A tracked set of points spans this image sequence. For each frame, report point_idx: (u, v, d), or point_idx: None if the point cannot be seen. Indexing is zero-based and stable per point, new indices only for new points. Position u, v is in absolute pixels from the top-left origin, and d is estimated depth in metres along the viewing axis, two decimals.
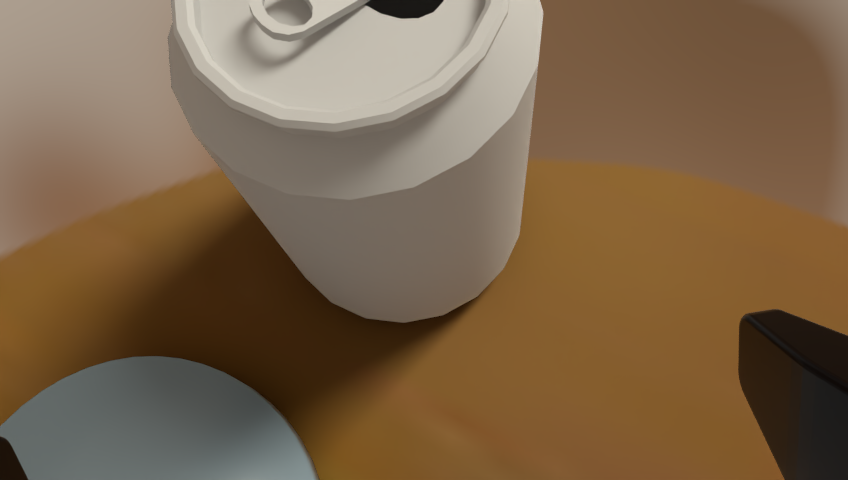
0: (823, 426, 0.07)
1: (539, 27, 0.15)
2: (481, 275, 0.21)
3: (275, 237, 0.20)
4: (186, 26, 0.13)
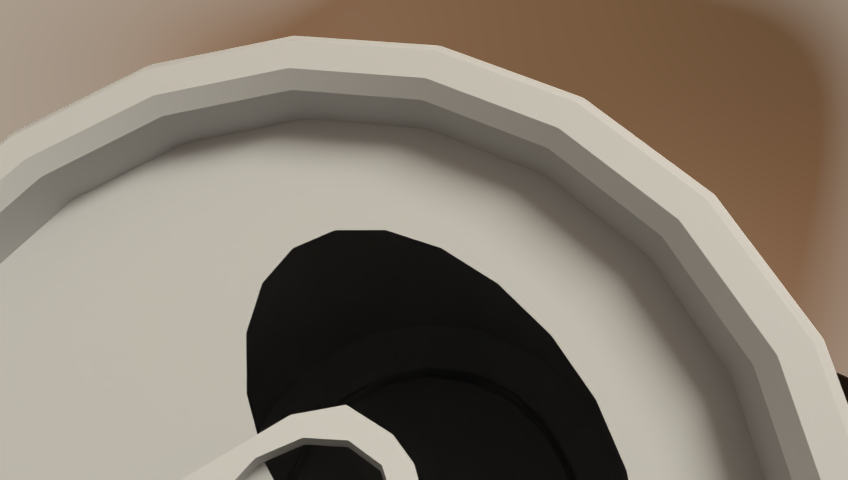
0: None
1: None
2: None
3: None
4: None
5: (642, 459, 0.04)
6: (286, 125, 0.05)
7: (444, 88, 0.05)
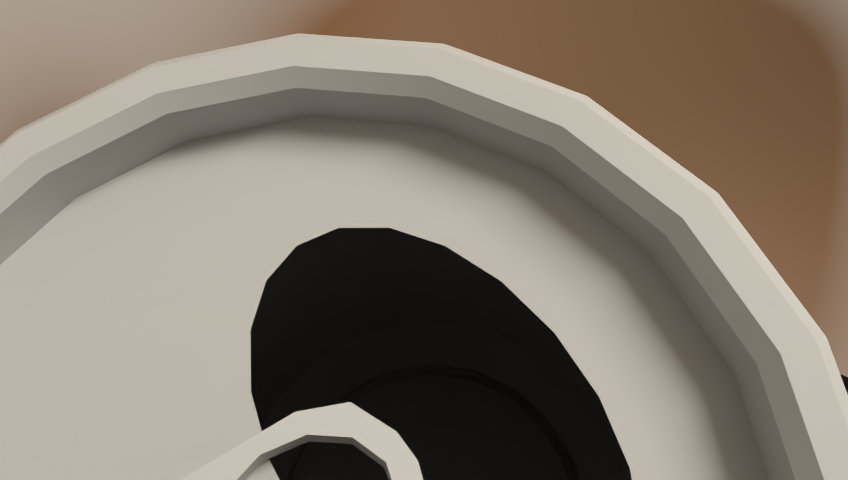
0: None
1: None
2: None
3: None
4: None
5: (644, 457, 0.04)
6: (290, 125, 0.05)
7: (447, 86, 0.05)
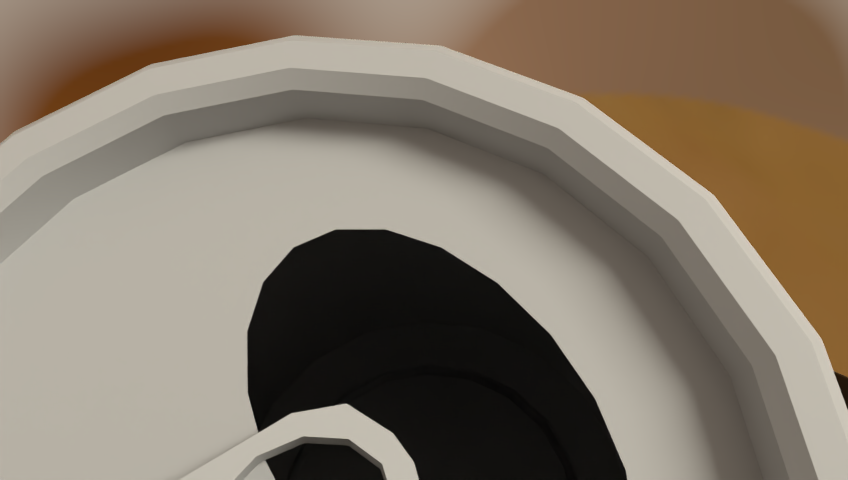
0: None
1: None
2: None
3: None
4: None
5: (639, 458, 0.04)
6: (286, 127, 0.05)
7: (444, 88, 0.05)
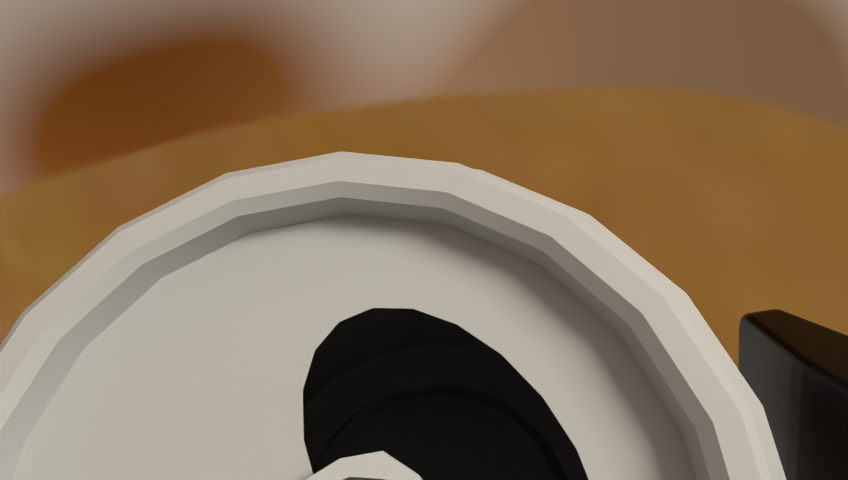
0: (823, 426, 0.07)
1: None
2: None
3: None
4: None
5: None
6: (332, 220, 0.07)
7: (461, 200, 0.06)
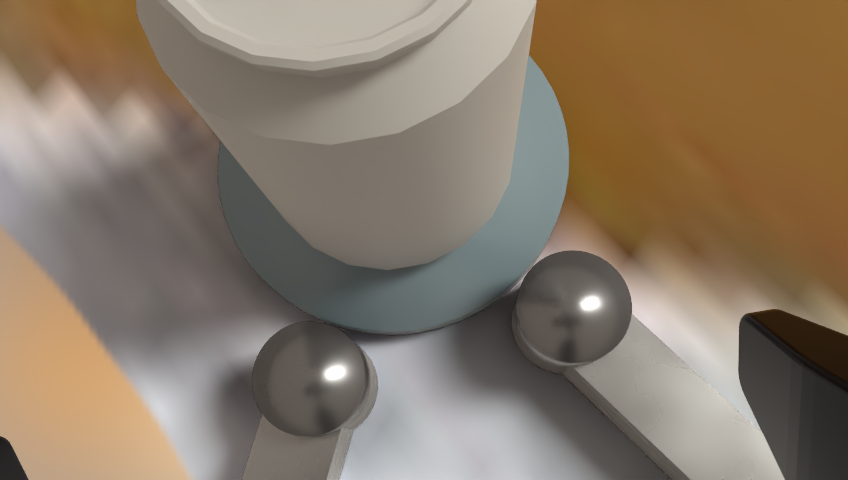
0: (823, 426, 0.07)
1: None
2: (469, 223, 0.20)
3: (253, 179, 0.19)
4: None
5: None
6: None
7: None
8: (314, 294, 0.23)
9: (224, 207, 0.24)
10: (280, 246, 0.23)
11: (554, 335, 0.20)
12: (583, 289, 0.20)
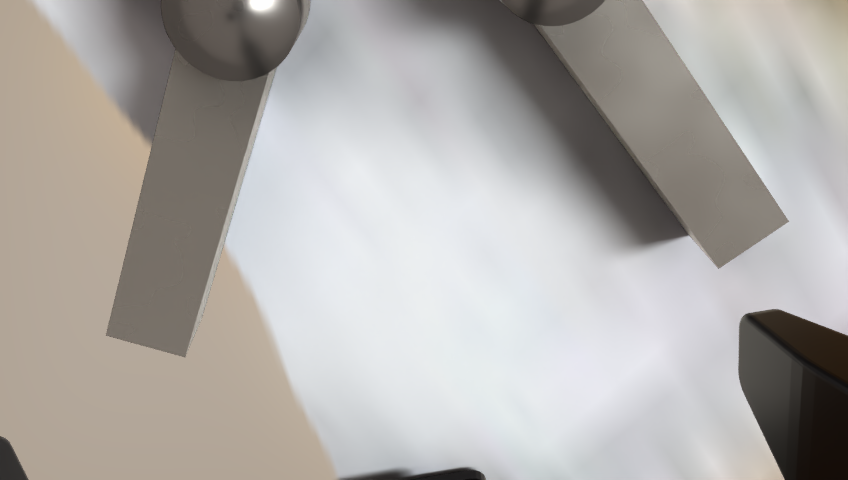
0: (823, 426, 0.07)
1: None
2: None
3: None
4: None
5: None
6: None
7: None
8: None
9: None
10: None
11: None
12: None
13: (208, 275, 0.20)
